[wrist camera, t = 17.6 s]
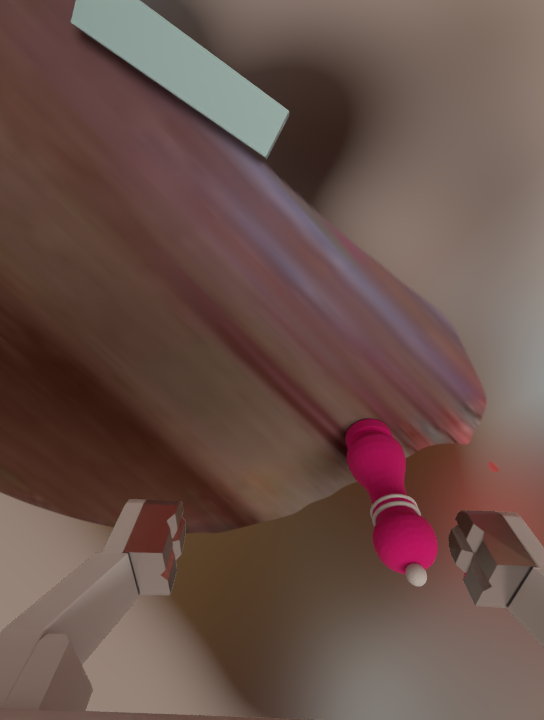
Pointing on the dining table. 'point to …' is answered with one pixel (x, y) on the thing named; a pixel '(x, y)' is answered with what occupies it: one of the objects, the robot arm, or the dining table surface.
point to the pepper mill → (390, 501)
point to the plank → (183, 69)
